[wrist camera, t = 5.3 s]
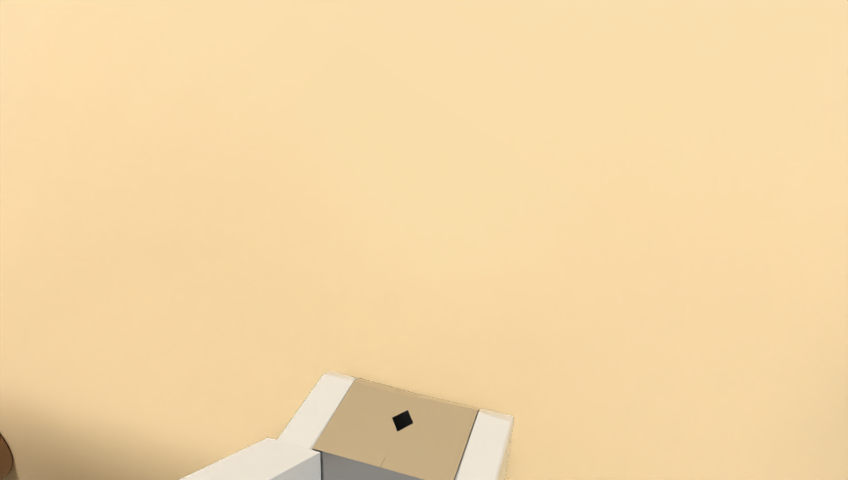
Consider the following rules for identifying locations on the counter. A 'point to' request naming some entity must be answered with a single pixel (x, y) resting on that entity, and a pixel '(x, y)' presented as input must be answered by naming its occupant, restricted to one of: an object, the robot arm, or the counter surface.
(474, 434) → the robot arm
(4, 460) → the post
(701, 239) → the counter surface
